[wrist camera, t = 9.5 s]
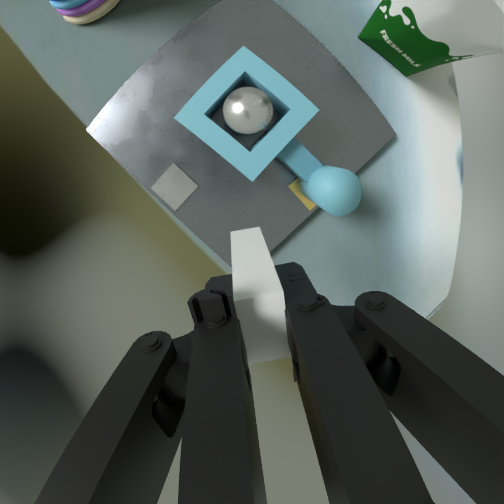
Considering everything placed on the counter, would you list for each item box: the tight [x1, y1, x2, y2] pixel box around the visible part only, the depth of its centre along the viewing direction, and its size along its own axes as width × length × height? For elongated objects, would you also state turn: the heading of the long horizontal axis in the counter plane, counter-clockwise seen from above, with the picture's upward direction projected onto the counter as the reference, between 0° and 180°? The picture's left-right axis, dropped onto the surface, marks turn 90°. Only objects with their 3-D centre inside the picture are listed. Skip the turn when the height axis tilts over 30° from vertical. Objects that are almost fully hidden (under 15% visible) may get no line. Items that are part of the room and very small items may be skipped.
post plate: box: [86, 0, 396, 267], centre depth 21 cm, size 22×22×6 cm
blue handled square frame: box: [174, 46, 362, 216], centre depth 21 cm, size 8×15×6 cm, turn 49°
